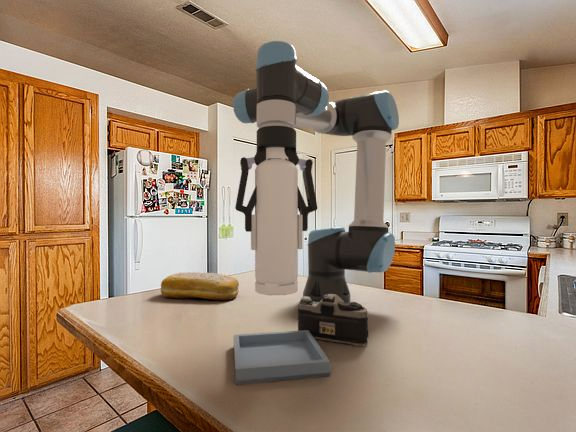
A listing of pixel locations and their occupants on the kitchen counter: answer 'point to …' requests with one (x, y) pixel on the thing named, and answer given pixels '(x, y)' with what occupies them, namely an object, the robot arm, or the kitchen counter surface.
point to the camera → (334, 320)
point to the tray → (278, 357)
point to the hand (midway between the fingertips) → (276, 248)
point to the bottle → (276, 225)
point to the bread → (200, 286)
